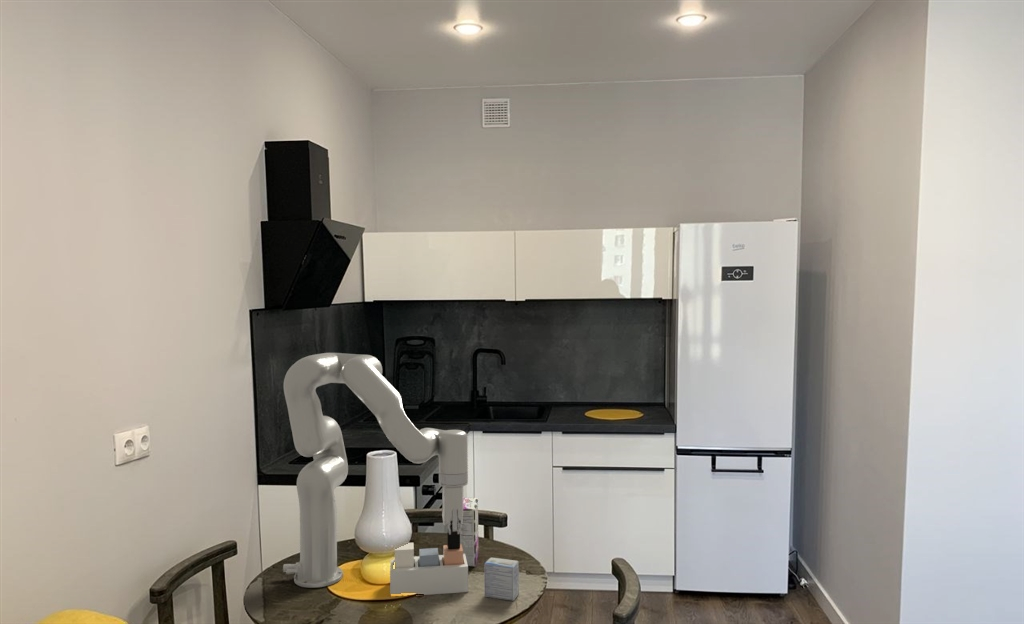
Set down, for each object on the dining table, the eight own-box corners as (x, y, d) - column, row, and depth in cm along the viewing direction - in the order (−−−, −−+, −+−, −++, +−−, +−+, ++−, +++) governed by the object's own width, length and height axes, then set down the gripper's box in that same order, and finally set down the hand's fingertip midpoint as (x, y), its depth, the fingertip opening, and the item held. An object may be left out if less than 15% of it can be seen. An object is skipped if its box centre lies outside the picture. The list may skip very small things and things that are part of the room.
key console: (390, 597, 166) (390, 571, 166) (391, 582, 175) (390, 557, 175) (468, 591, 169) (468, 566, 169) (465, 577, 178) (464, 553, 178)
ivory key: (394, 574, 168) (394, 550, 168) (395, 567, 173) (395, 543, 173) (413, 573, 169) (413, 549, 169) (413, 566, 174) (413, 542, 174)
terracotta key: (444, 575, 170) (444, 552, 170) (443, 568, 175) (443, 545, 175) (463, 574, 171) (463, 550, 171) (461, 567, 176) (461, 544, 176)
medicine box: (519, 594, 168) (519, 560, 168) (513, 601, 164) (513, 567, 164) (490, 590, 170) (490, 556, 170) (483, 597, 166) (483, 563, 166)
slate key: (419, 580, 169) (419, 555, 169) (419, 572, 174) (419, 549, 174) (438, 578, 170) (438, 554, 170) (437, 571, 175) (437, 547, 175)
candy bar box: (462, 552, 196) (462, 497, 196) (478, 552, 196) (478, 497, 196) (458, 567, 185) (458, 508, 185) (476, 567, 185) (476, 508, 185)
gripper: (437, 471, 180) (437, 539, 180) (440, 486, 165) (440, 560, 165) (465, 470, 181) (465, 537, 181) (470, 485, 166) (470, 558, 166)
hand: (453, 548), depth 173 cm, fingers closed
